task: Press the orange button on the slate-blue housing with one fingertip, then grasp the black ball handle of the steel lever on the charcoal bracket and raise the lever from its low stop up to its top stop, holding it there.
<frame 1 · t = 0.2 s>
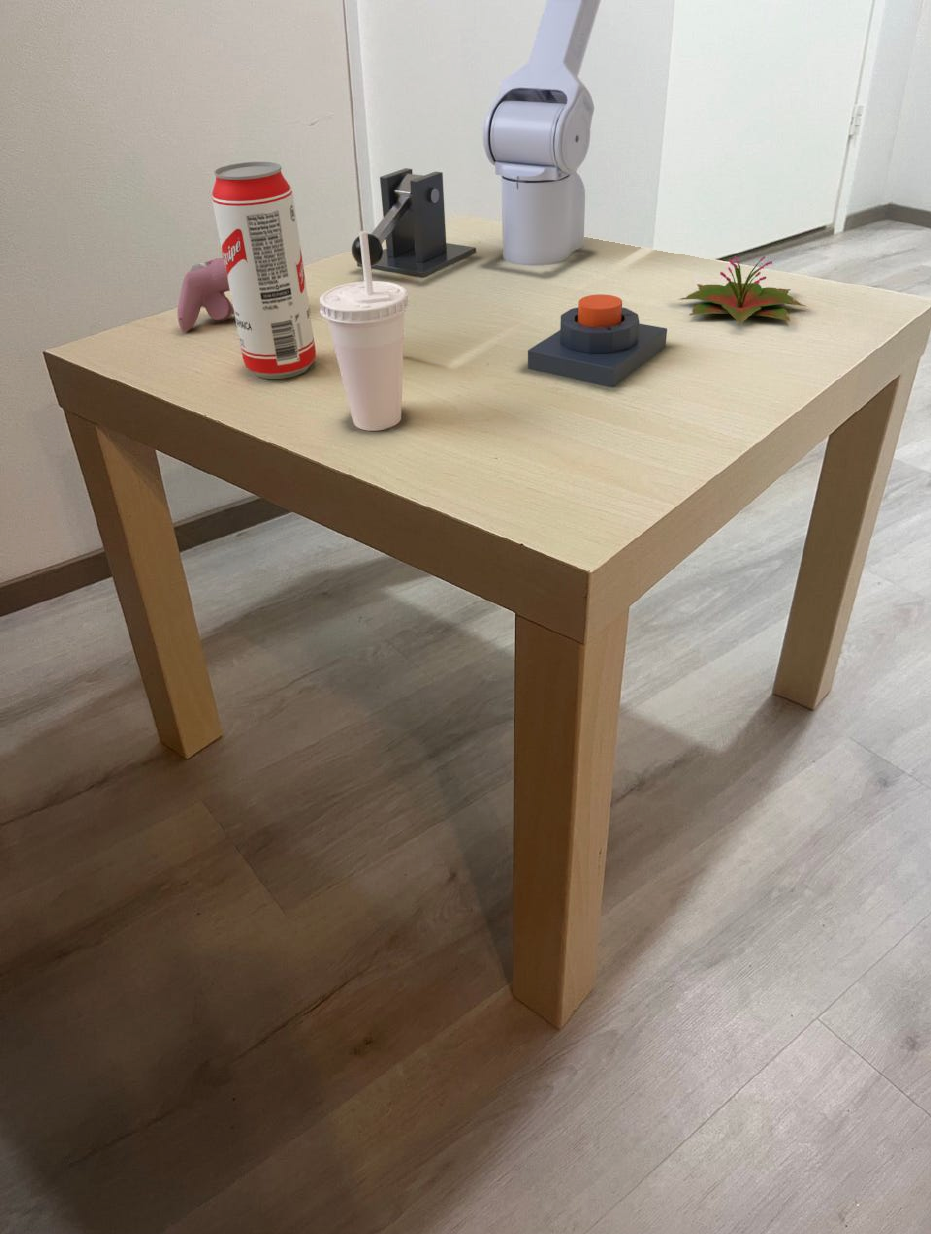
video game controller: (235, 325, 91), on the table
button box: (597, 358, 80), on the table
smoothie: (377, 422, 72), on the table
button: (599, 312, 78), point 4 cm above the table, slide at 0.1 cm
lever: (389, 222, 97), point 6 cm above the table, hinge at -25.0°
lily flower: (740, 311, 88), on the table
beer can: (282, 370, 82), on the table
bracket: (417, 265, 103), on the table
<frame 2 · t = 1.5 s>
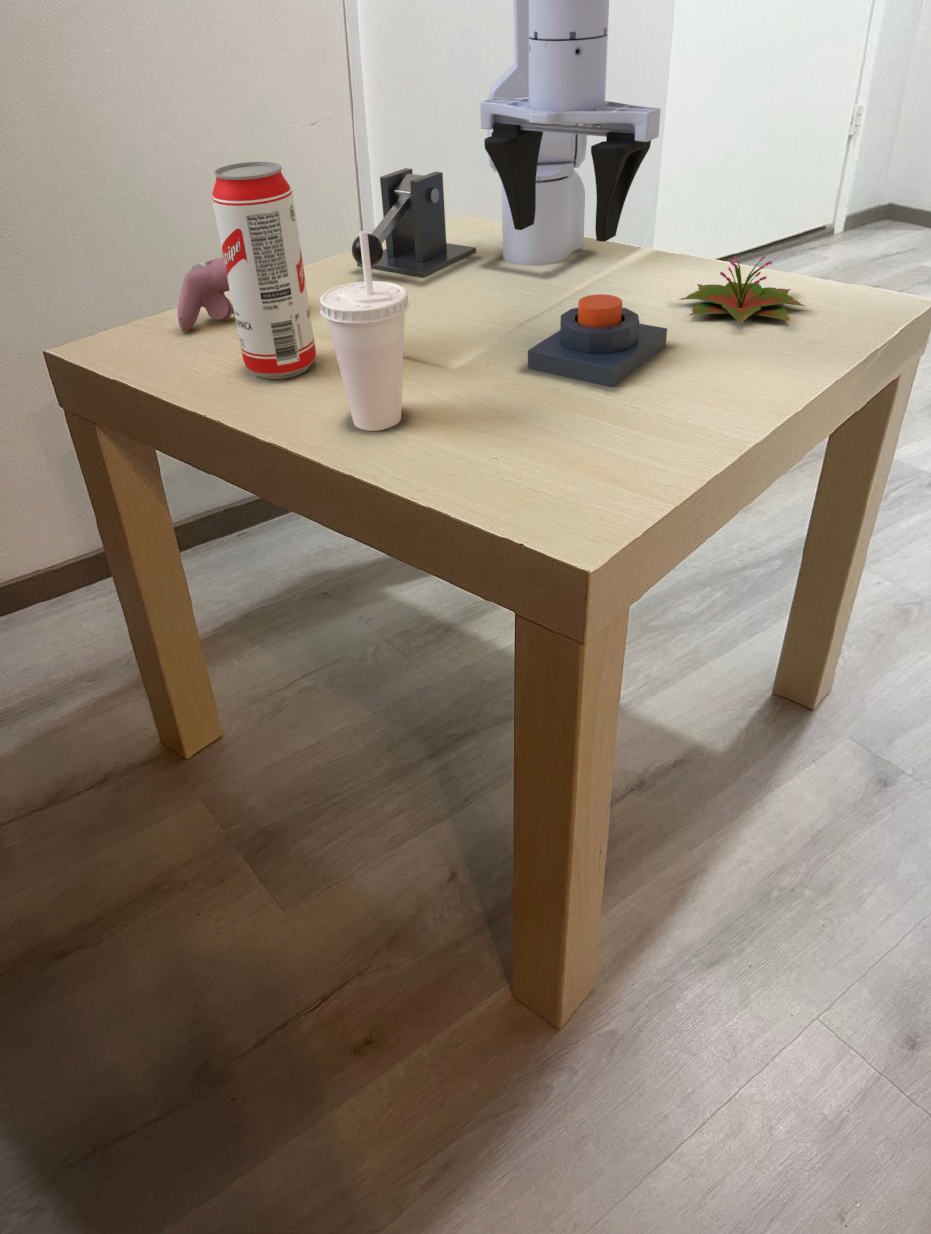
hand: (564, 232, 76), 10 cm above the table, tool pointing down, fingers open, 7 cm apart
nothing on the table moved.
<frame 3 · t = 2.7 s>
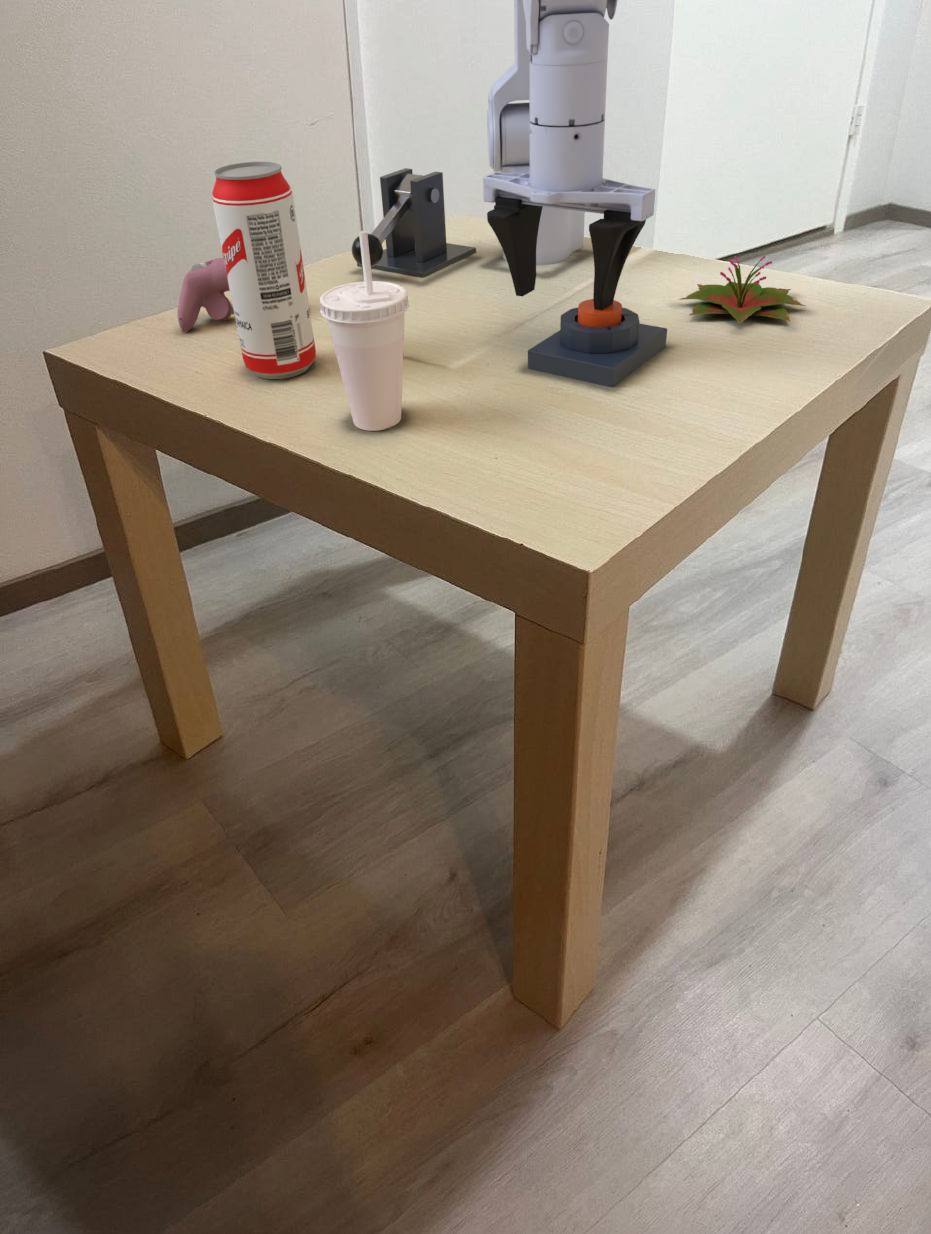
hand: (563, 299, 79), 5 cm above the table, tool pointing down, fingers open, 7 cm apart
button: (599, 316, 78), point 4 cm above the table, slide at -0.2 cm, touching gripper
everything else where it was.
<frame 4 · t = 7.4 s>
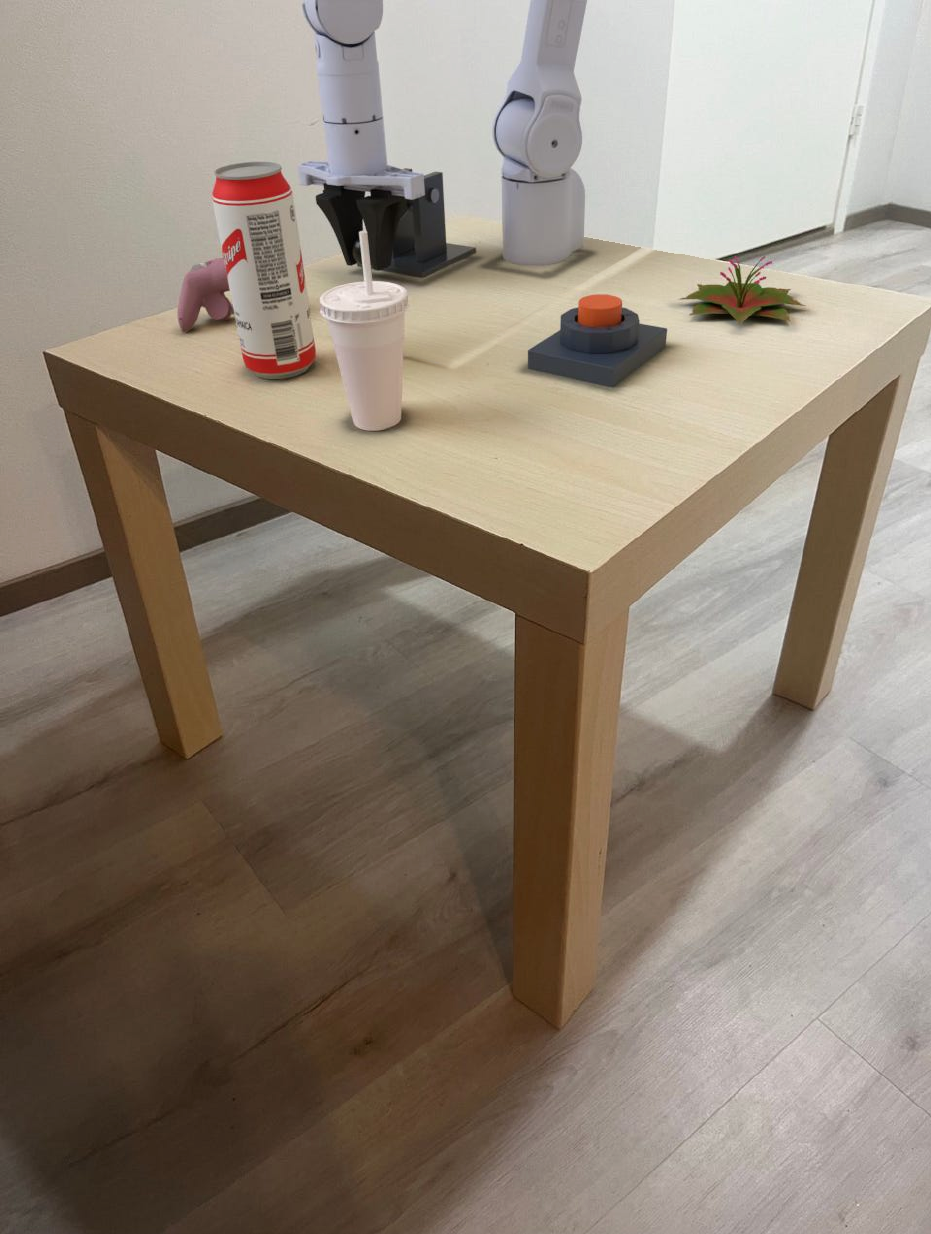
hand: (368, 265, 97), 2 cm above the table, tool pointing down, fingers closed on lever, 3 cm apart
button: (599, 312, 78), point 4 cm above the table, slide at 0.1 cm
lever: (389, 222, 97), point 6 cm above the table, hinge at -25.0°, touching gripper
everything else where it was.
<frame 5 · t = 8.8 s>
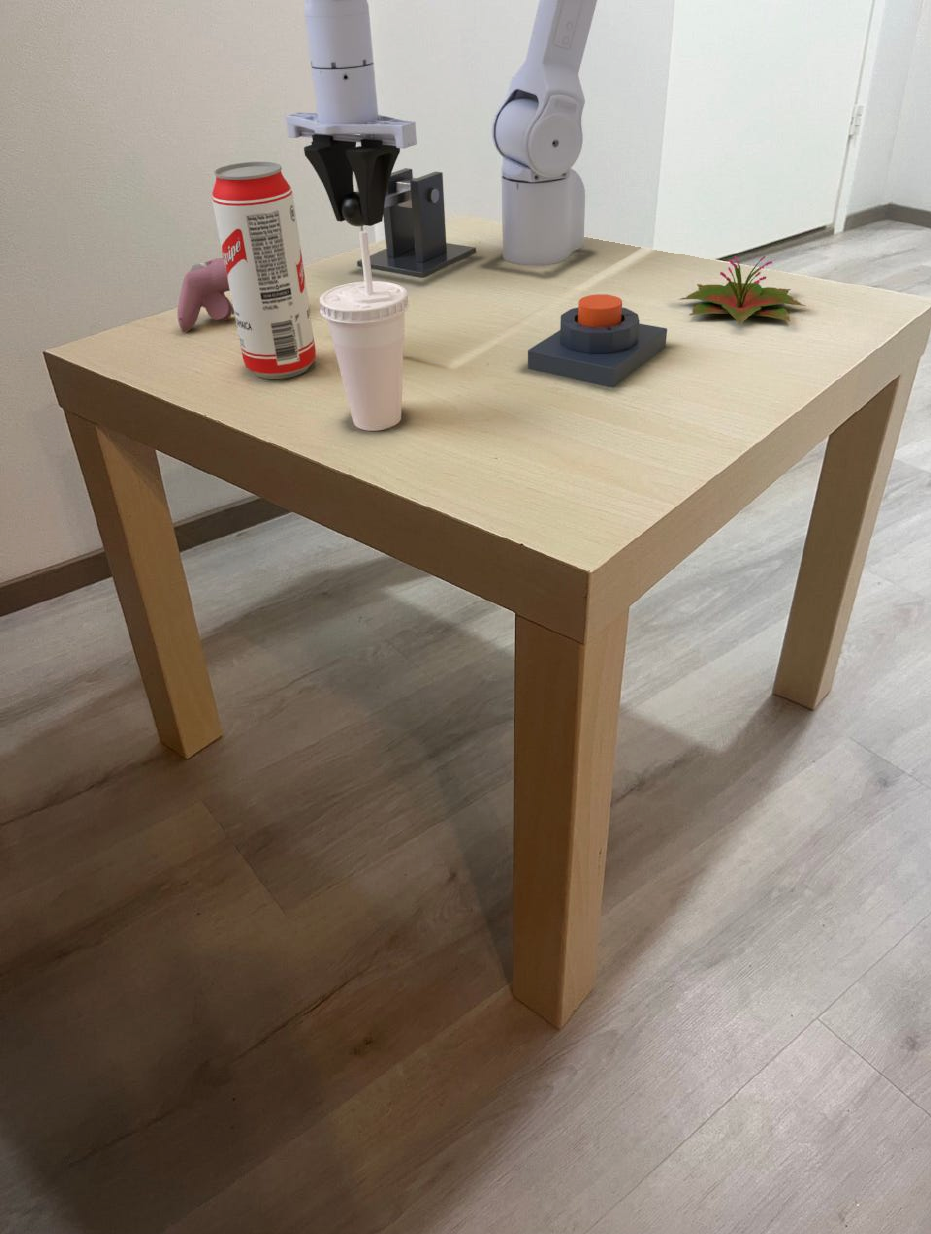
hand: (359, 221, 94), 7 cm above the table, tool pointing down, fingers closed on lever, 3 cm apart
lever: (385, 201, 96), point 8 cm above the table, hinge at 2.5°, touching gripper
everything else where it was.
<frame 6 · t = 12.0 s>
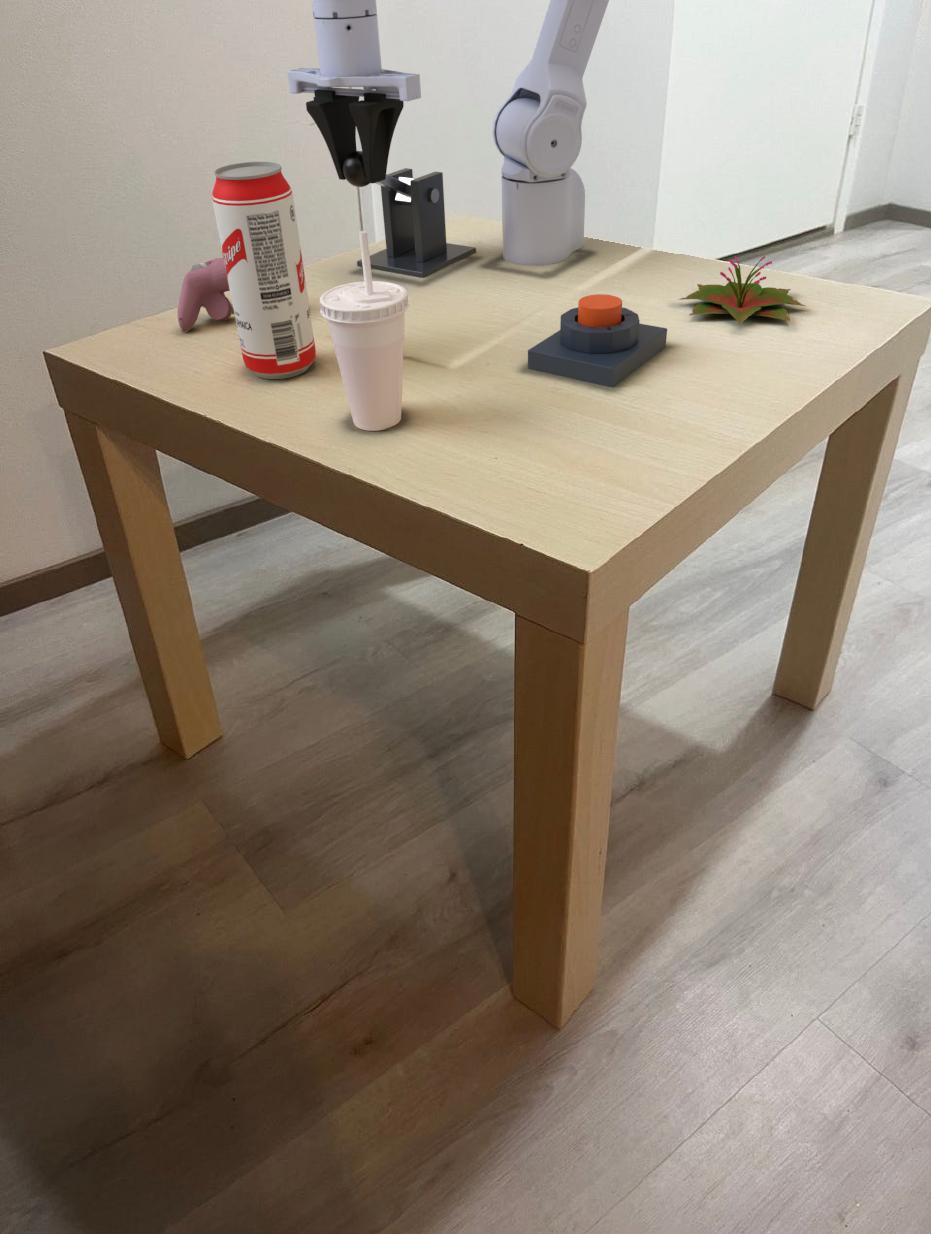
hand: (362, 179, 92), 10 cm above the table, tool pointing down, fingers closed on lever, 3 cm apart
lever: (386, 181, 95), point 9 cm above the table, hinge at 25.6°, touching gripper
everything else where it was.
at the end: lever at +26° (first picture: -25°); button pushed in 1.1 cm at the most during the clip, back to where it started at the end; button slide at 0.1 cm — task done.
